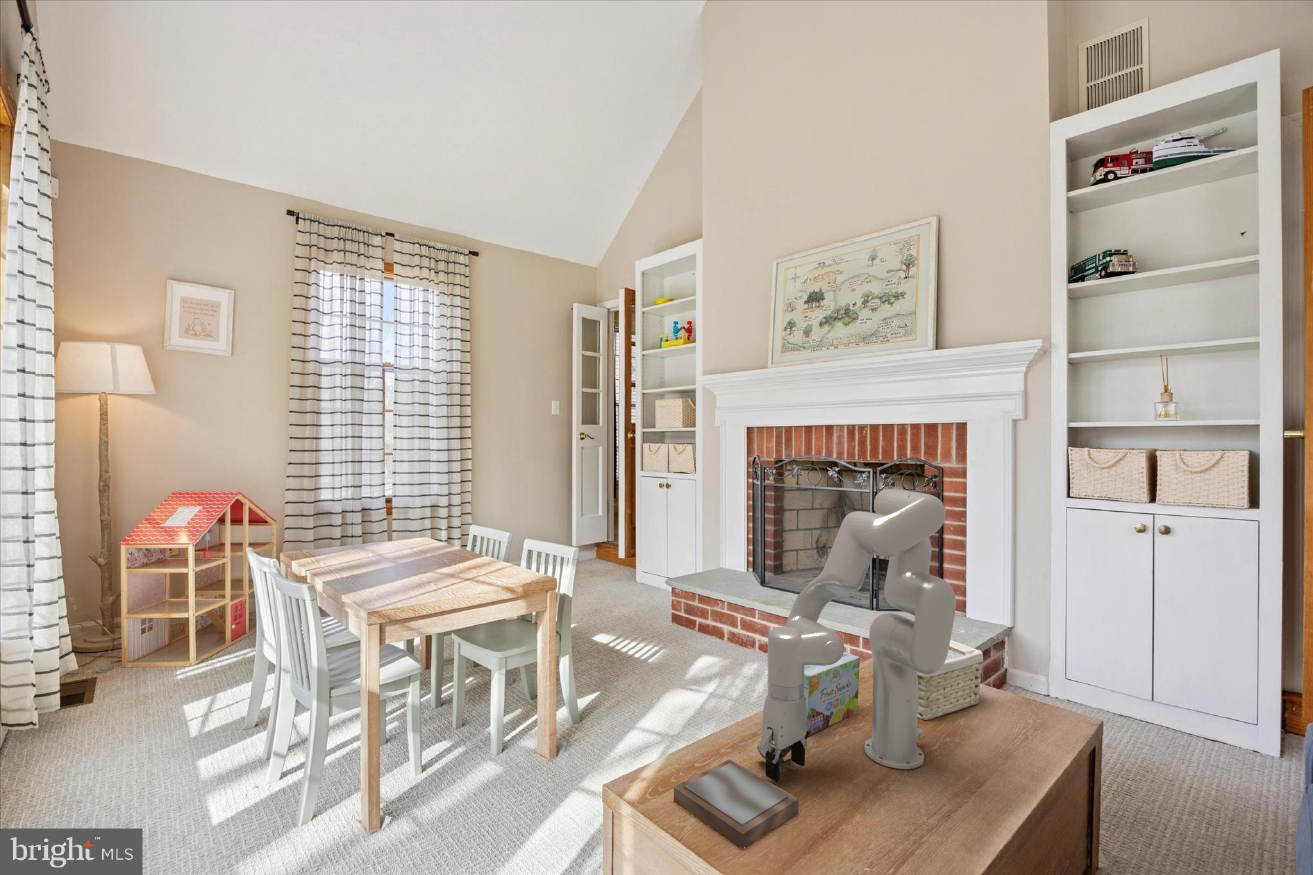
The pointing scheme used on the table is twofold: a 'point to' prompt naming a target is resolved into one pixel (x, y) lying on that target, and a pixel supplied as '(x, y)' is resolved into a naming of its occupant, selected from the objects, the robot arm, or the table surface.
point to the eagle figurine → (782, 755)
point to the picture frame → (736, 802)
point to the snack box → (831, 692)
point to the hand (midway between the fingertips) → (785, 770)
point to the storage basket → (951, 683)
